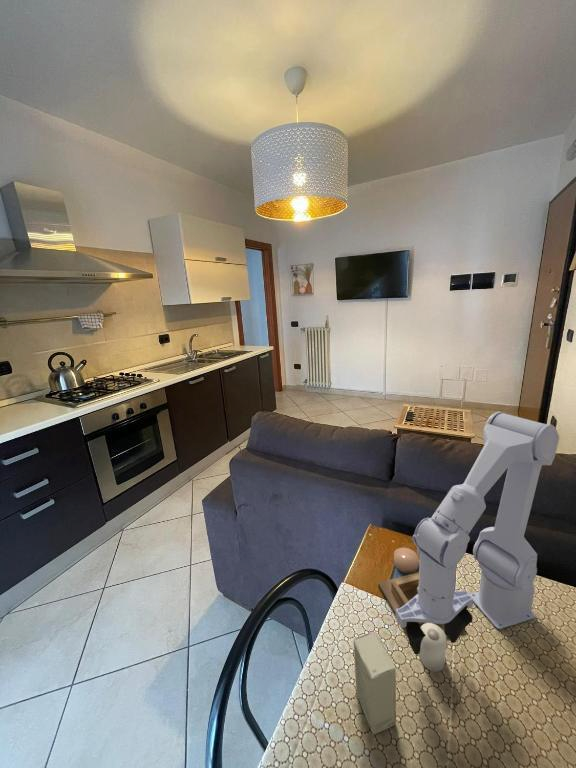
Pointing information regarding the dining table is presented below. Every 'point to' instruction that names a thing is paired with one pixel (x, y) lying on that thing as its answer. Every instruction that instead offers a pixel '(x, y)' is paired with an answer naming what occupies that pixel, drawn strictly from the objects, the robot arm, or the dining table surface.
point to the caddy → (402, 592)
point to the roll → (433, 647)
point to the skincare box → (375, 682)
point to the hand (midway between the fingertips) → (432, 643)
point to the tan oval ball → (406, 560)
